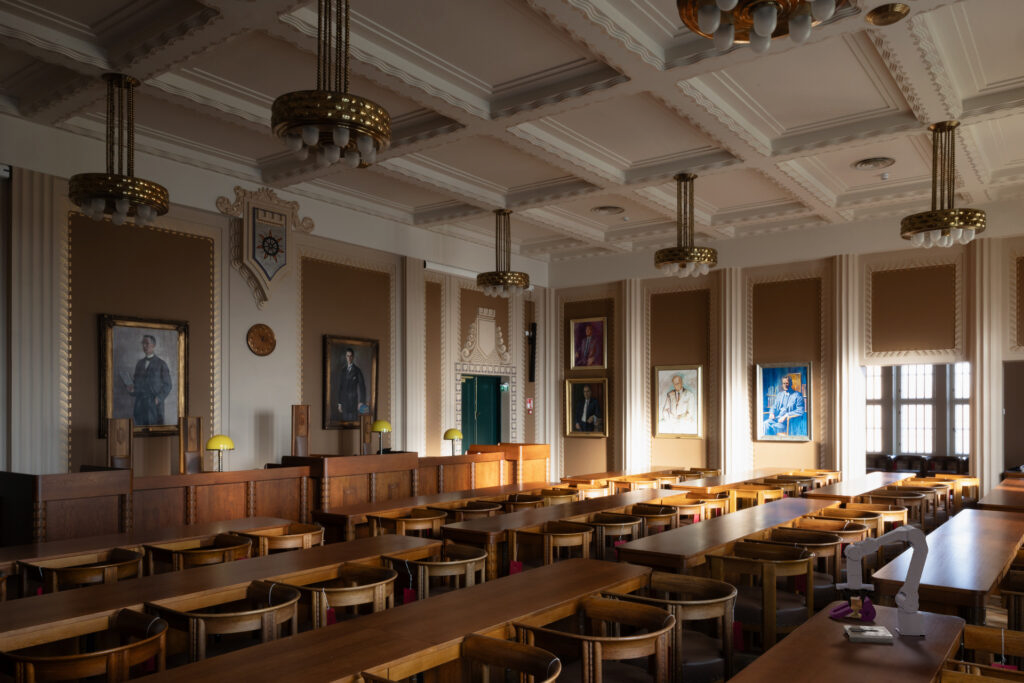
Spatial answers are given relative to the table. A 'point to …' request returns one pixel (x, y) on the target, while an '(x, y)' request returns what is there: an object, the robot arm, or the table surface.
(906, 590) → the robot arm
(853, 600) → the keyhole peg
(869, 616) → the mounting bracket
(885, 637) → the keyhole plate
